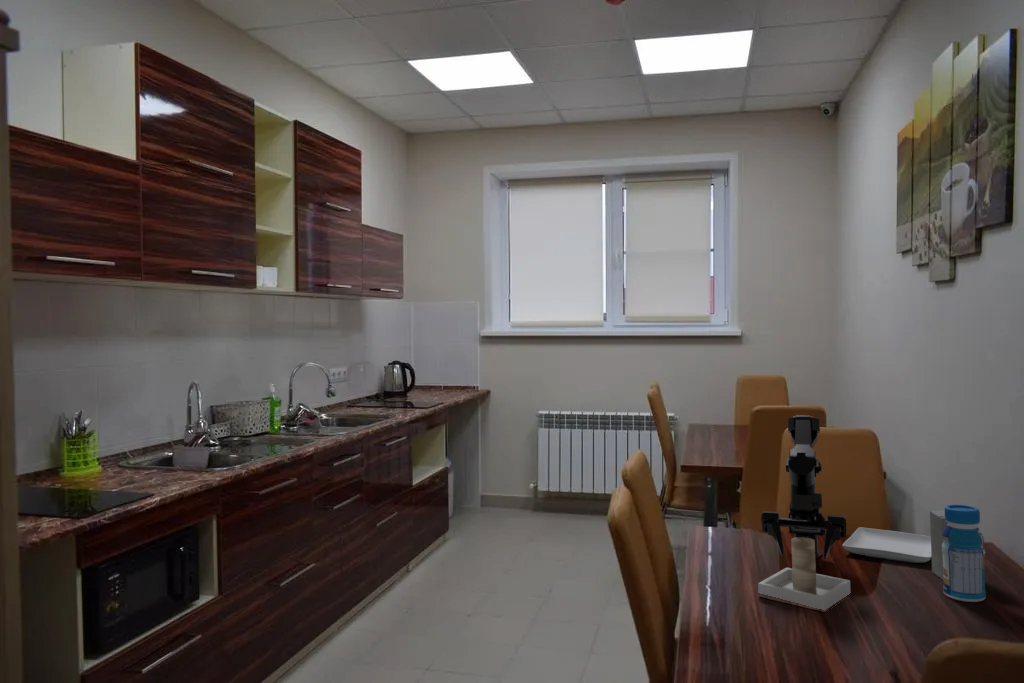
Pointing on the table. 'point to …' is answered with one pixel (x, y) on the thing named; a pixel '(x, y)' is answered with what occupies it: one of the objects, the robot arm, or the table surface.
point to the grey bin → (826, 589)
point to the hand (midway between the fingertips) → (803, 556)
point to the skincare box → (937, 541)
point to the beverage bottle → (963, 554)
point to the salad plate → (890, 545)
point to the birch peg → (803, 564)
